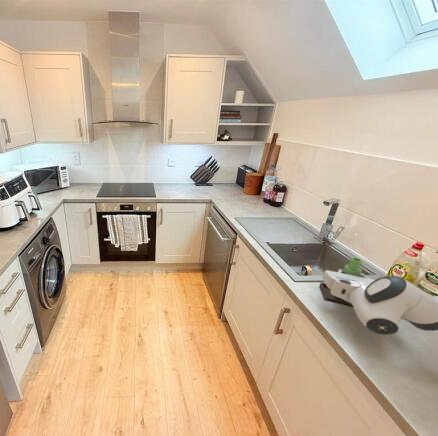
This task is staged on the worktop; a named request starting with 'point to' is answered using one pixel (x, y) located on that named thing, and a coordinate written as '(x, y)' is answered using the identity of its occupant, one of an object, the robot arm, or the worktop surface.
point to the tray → (332, 296)
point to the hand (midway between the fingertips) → (349, 272)
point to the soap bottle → (353, 267)
